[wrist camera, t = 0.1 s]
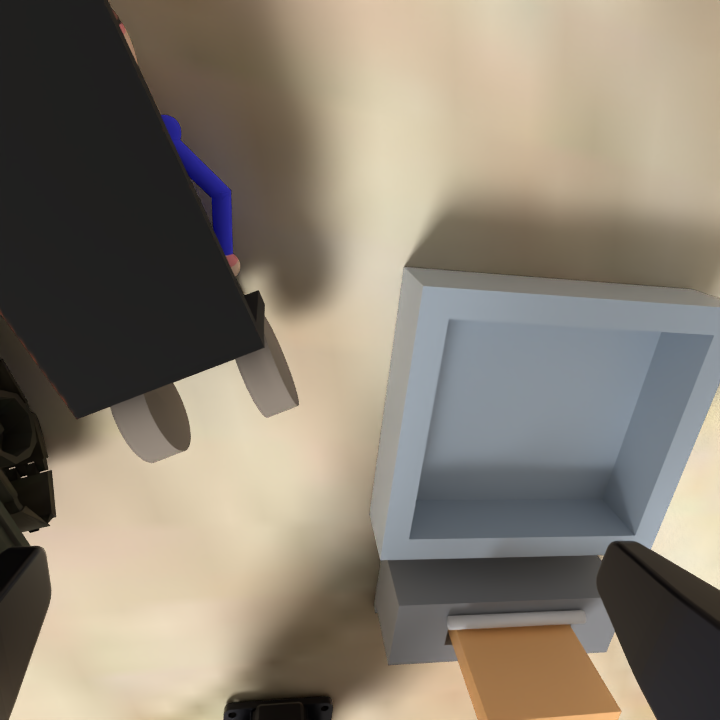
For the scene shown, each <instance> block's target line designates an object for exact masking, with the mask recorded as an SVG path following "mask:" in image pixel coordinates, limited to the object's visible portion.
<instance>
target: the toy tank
mask: <svg viewBox="0 0 720 720" xmlns="http://www.w3.org/2000/svg"><path fill="white" fill-rule="evenodd" d="M27 402H28V401H27V400H26V398H25V396H24V394H23V393H22V391H21V389H20V387H19V386H18V384H17V382H16V381H15V379H14V377H13V375H12V374H11V372H10V370H9V369H8V367H7V365H6V363H5V362H4V360H3V359H1V360H0V553H1V552H3V551H4V550H6V549H8V548H10V547H14V546H30V544H29V543H28V541H27V540H26V538H25V537H24V535H23V534H22V532H25V531H29V532H30V533H31V532H35V531H39V528H42V527H47V526H50V525H49V524H48V523H49V522H50V520H51V519H52V518H54V517H56V510H55V499H54V489H53V478H52V470H50V471H47V472H43V473H40V472H41V471H45V470H48V465H47V460H46V458H48V454H47V450H46V447H45V443H44V439H43V436H42V432H41V428H40V425H39V421H38V418H37V417H36V415H35V413H31V411H30V409H29V407H28V405H27V404H26V403H27ZM30 462H34V463H32V464H28V463H30ZM12 467H15V468H13V469H10V470H9V468H12ZM26 475H27V477H24V478H21V477H23V476H26Z"/></svg>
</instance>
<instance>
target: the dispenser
mask: <svg viewBox="0 0 720 720" xmlns="http://www.w3.org/2000/svg"><path fill="white" fill-rule="evenodd" d="M601 562H602V561H601V559H600V558H599V557H598V556H597V555H583V556H541V557H499V558H457V559H415V560H381V563H380V569H379V575H378V582H377V588H376V594H375V601H374V609H375V613H378V617H379V622H380V627H381V632H382V637H383V642H384V647H385V652H386V657H387V662H388V665H399V664H416V663H433V662H449V661H458V660H457V657H456V654H455V651H454V648H453V645H452V642H451V639H450V636H449V633H448V629H449V630H461V629H482V628H502V627H523V626H543V625H563V624H569V625H570V626H571V628H572V630H573V631H574V633H575V635H576V636H577V638H578V640H579V641H580V643H581V645H582V646H583V648H584V650H585V651H586V653H599V652H606V651H607V649H608V646H609V644H610V642H611V639H612V637H613V634H614V632H615V630H614V628H613V626H612V623H611V621H610V619H609V616H608V614H607V612H606V609H605V607H604V605H603V602H602V600H601V598H600V595H599V593H598V590H597V586H596V576H597V573H598V570H599V567H600V565H601Z"/></svg>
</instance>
